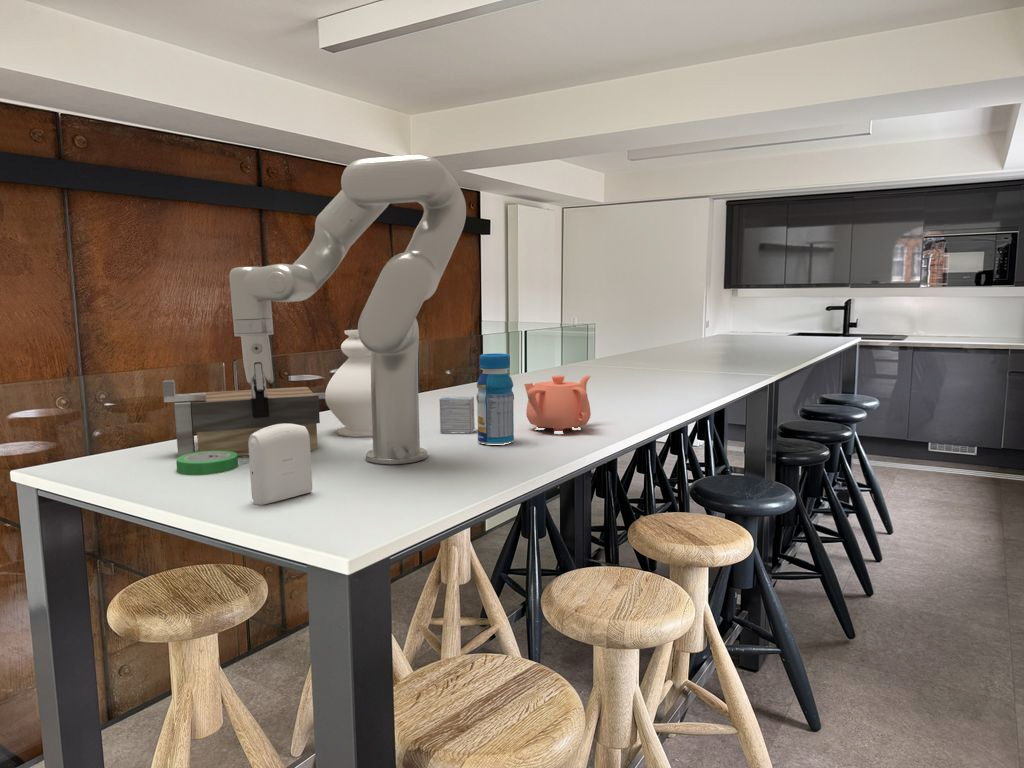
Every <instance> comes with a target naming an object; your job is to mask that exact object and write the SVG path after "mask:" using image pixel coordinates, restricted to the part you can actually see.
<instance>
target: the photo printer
mask: <svg viewBox="0 0 1024 768" xmlns="http://www.w3.org/2000/svg"><path fill="white" fill-rule="evenodd" d="M248 447H249V455H248V458H249V460H248V461H249V472H250V475H249V477H250V487H251V488H250V490H251V499H252V502H253V504H255V505H259V506H264V505H267V504H272V503H277V502H279V501H283V500H287V499H290V498H294V497H298V496H301V495H306V494H309V493H311V492H312V491H313V475H312V474H313V473H312V459H311V450H310V438H309V433H308V430H307V429H306V427H305V426H301V425H297V424H276V425H272V426H268V427H265V428H263V429H260V430H258V431H257V432H255V433H253V434H252V435H251V436H250V437H249V442H248Z"/></svg>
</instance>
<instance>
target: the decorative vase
mask: <svg viewBox="0 0 1024 768" xmlns="http://www.w3.org/2000/svg"><path fill="white" fill-rule="evenodd" d="M343 332H344V335H347V336H348V337H347V338H346V339H344V341H343V342H342V343H341V345H340V350H341V352H342V353H343V354H344V355H345V356H347V357H348V358H347V359H346V360H345V362H343V363H342V365H341V366H339V368H338V369H337V370H336V371H335V373H333V375H332V377H331V379H330V380H329V382H328V383H327V385H326V389H325V394H324V399H325V404H326V406H327V407H328V409H329V410H330V412H331V413H332V414H333V415H334V416H335V418H337V420H338V421H339V422H340V423H341V424H342V425H343V426H344V427H341V428H339V429H338V430H337V434H338V435H340V436H343V437H351V438H352V437H353V438H354V437H355V438H359V437H360V438H361V437H362V438H363V437H373V433H372V404H371V351H370V350H368V349H367V348H366V347H365V346H364V345H363V344H362V342H361V340H360V338H359V335H358V329H347V330H344V331H343Z"/></svg>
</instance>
